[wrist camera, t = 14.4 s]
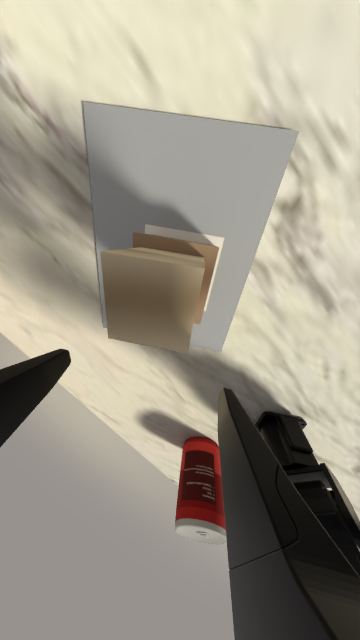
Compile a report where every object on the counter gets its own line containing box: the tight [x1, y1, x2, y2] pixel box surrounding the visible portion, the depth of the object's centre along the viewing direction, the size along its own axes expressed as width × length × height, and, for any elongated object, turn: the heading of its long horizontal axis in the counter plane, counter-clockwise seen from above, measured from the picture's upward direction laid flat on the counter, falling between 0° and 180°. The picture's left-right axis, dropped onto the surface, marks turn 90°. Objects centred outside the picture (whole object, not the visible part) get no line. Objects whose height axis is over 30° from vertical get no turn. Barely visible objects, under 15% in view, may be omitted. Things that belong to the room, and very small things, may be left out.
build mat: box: [83, 102, 299, 352], centre depth 16 cm, size 20×16×1 cm
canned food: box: [175, 437, 227, 545], centre depth 27 cm, size 8×8×11 cm
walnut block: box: [133, 232, 219, 324], centre depth 14 cm, size 6×6×5 cm
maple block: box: [100, 247, 205, 354], centre depth 10 cm, size 4×4×5 cm
